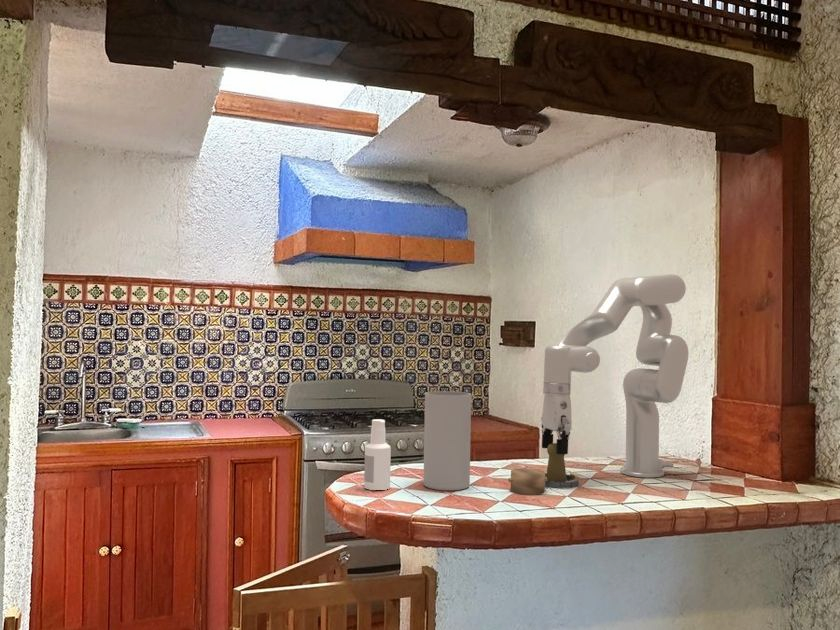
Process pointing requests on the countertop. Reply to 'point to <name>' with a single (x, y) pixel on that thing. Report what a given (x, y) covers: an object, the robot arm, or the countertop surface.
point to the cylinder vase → (447, 440)
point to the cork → (555, 465)
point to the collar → (564, 482)
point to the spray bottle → (377, 458)
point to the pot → (527, 481)
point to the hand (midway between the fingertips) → (554, 451)
